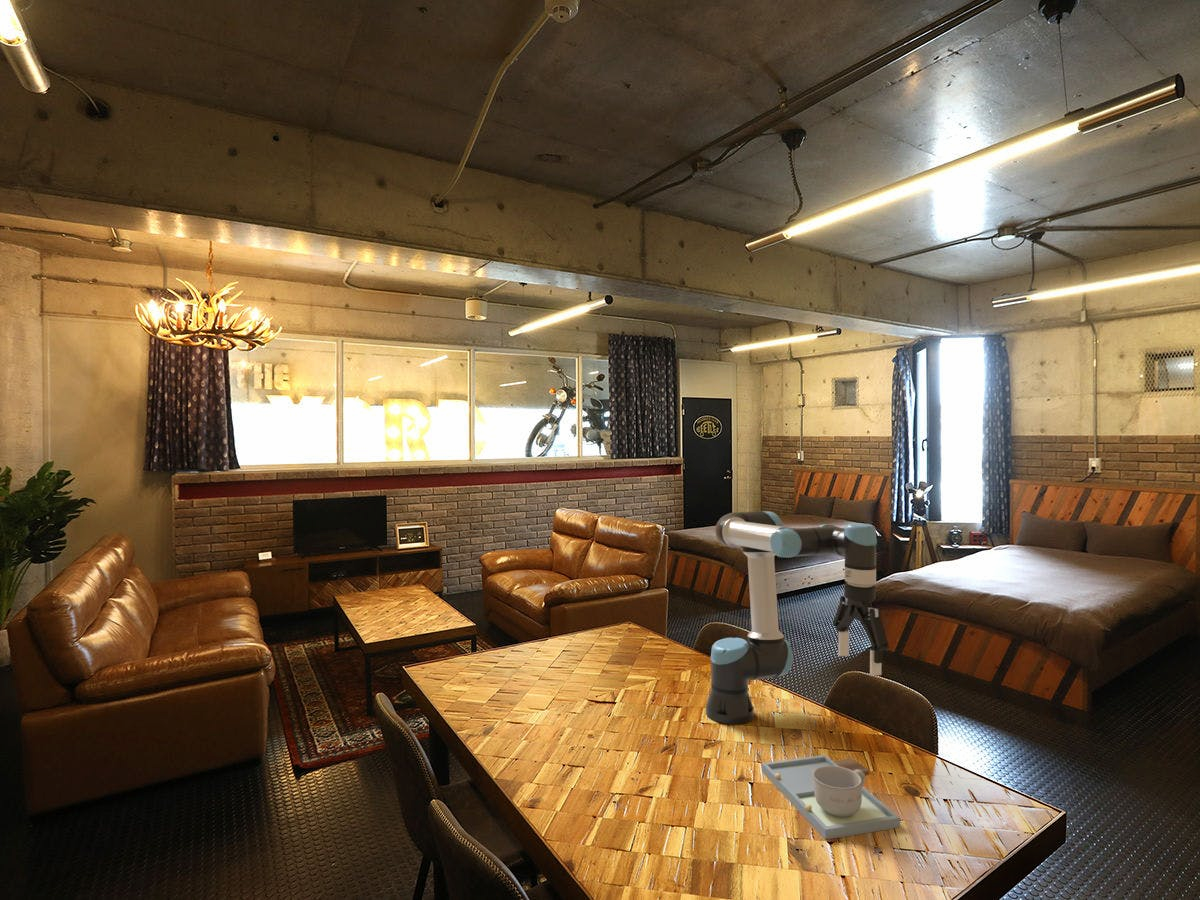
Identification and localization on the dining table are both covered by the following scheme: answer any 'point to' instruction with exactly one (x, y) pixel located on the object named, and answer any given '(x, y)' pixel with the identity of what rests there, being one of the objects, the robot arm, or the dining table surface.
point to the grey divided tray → (799, 790)
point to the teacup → (838, 789)
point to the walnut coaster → (851, 765)
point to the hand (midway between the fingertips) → (858, 664)
